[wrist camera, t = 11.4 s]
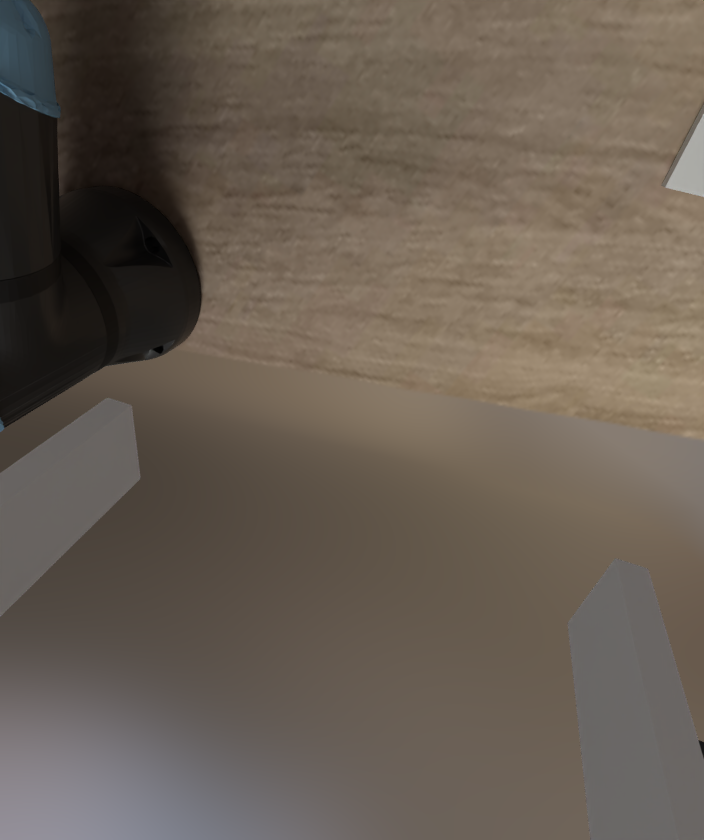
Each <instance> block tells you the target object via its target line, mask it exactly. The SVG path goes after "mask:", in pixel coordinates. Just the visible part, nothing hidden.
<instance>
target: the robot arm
mask: <svg viewBox="0 0 704 840" xmlns="http://www.w3.org/2000/svg"><path fill="white" fill-rule="evenodd" d="M57 118H60V106H59V104H58V103H57V102H56V94H55V83H54V72H53V61H52V50H51V40H50V35H49V32H48V29H47V26H46V24H45V22H44V20H43V18H42V16H41V14H40V13H39V11H38V10H37V8H36V7H35V6H34V5H33V3H32V2H31V1H30V0H0V432H1V431H2V430H3V429H4V428H5V427H7V426H8V425H10V424H11V423H13V422H15V421H16V420H18V419H20V418H21V417H23V416H25V415H26V414H28V413H29V412H31V411H33V410H34V409H36V408H38V407H39V406H41V405H43V404H44V403H46V402H48V401H49V400H51V399H52V398H54V397H55V396H57V395H59V394H61V393H62V392H64V391H65V390H67V389H69V388H70V387H72V386H74V385H75V384H77V383H78V382H80V381H82V380H83V379H85V378H87V377H88V376H90V375H91V374H93V373H95V372H96V371H98V370H100V369H102V368H103V367H105V366H109V365H116V364H122V363H129V362H136V361H143V360H149V359H153V358H157V357H159V356H162V355H164V354H166V353H167V352H169V351H171V350H172V349H174V348H175V347H177V346H178V345H180V344H181V343H182V342H184V341H185V340H186V339H187V338H188V336H189V335H190V334H191V332H192V331H193V329H194V327H195V325H196V322H197V319H198V316H199V310H200V286H199V280H198V276H197V272H196V269H195V266H194V263H193V260H192V258H191V255H190V253H189V251H188V249H187V247H186V245H185V244H184V242H183V240H182V239H181V237H180V235H179V234H178V233H177V231H176V230H175V228H174V227H173V226H172V225H171V223H170V222H169V221H168V220H167V219H166V218H165V217H164V216H163V215H162V214H161V213H160V212H159V211H158V210H157V209H156V208H155V207H153V206H152V205H151V204H150V203H148V202H147V201H145V200H144V199H142V198H140V197H139V196H137V195H135V194H133V193H131V192H129V191H126V190H123V189H120V188H116V187H110V186H97V187H90V188H84V189H78V190H74V191H71V192H68V193H66V194H64V195H62V196H60V197H59V175H58V147H57ZM139 479H140V470H139V463H138V454H137V445H136V437H135V429H134V421H133V413H132V405H129V404H126V403H123V402H120V401H117V400H113V399H110V398H106V399H105V400H103V401H102V402H100V403H99V404H98V405H96V406H95V407H94V408H92V409H90V410H89V411H88V412H86V413H85V414H83V415H82V416H81V417H79V418H78V419H76V420H75V421H73V422H72V423H71V424H69V425H68V426H66V427H65V428H64V429H62V430H61V431H59V432H58V433H56V434H55V435H54V436H52V437H51V438H50V439H48V440H47V441H45V442H44V443H42V444H41V445H39V446H38V447H37V448H35V449H34V450H32V451H31V452H30V453H28V454H27V455H25V456H24V457H22V458H21V459H20V460H18V461H17V462H15V463H14V464H13V465H11V466H10V467H8V468H7V469H5V470H4V471H3V472H1V473H0V616H1V615H2V614H3V613H4V612H5V611H6V610H7V609H8V608H9V607H10V606H11V605H12V604H13V603H15V601H16V600H18V599H19V598H20V597H21V596H22V595H23V594H24V593H25V592H26V591H27V590H28V589H29V588H30V587H31V586H32V585H33V584H34V583H35V582H36V581H37V580H38V579H39V578H40V577H41V576H42V575H43V574H44V573H45V572H46V571H47V570H48V569H49V568H50V567H51V566H52V565H53V564H54V563H55V562H56V561H57V560H58V559H59V558H60V557H61V556H62V555H63V554H64V553H65V552H66V551H67V550H68V549H69V548H70V547H71V546H72V545H73V544H74V543H75V542H76V541H77V540H79V538H80V537H82V536H83V535H84V534H85V533H86V531H88V530H89V529H90V527H92V526H93V525H94V524H95V523H96V522H97V521H98V520H99V519H100V518H101V517H102V516H103V515H104V514H105V513H106V512H107V511H108V510H109V509H110V508H111V507H112V506H113V505H114V504H115V503H116V502H117V501H118V500H119V499H120V498H121V497H122V496H123V495H124V494H125V493H126V492H127V491H128V490H129V489H130V488H131V487H132V486H133V485H134V484H135V483H136V482H137V481H138V480H139ZM568 630H569V640H570V650H571V659H572V668H573V678H574V688H575V696H576V707H577V716H578V726H579V735H580V744H581V755H582V764H583V773H584V783H585V792H586V802H587V812H588V821H589V831H590V840H704V742H702V741H699V740H698V737H697V734H696V731H695V727H694V724H693V720H692V717H691V714H690V710H689V707H688V703H687V700H686V697H685V693H684V690H683V686H682V683H681V679H680V676H679V673H678V669H677V666H676V662H675V659H674V655H673V652H672V649H671V645H670V642H669V638H668V635H667V632H666V628H665V625H664V621H663V618H662V614H661V611H660V608H659V604H658V601H657V597H656V594H655V591H654V587H653V584H652V580H651V577H650V574H649V570H648V568H644V567H641V566H638V565H635V564H632V563H629V562H626V561H622V560H619V559H616V558H615V559H614V561H613V562H612V563H611V565H610V566H609V567H608V569H607V570H606V571H605V573H604V574H603V576H602V577H601V578H600V580H599V581H598V582H597V584H596V585H595V587H594V588H593V589H592V591H591V592H590V593H589V595H588V596H587V597H586V599H585V600H584V602H583V603H582V604H581V606H580V607H579V608H578V610H577V611H576V612H575V614H574V615H573V617H572V618H571V619H570V621H569V622H568Z"/></svg>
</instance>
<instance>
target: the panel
mask: <svg viewBox="0 0 704 840" xmlns="http://www.w3.org/2000/svg"><path fill="white" fill-rule="evenodd" d="M662 186H663V187H666V188H670V189H674V190H678V191H682V192H686V193H690V194H694V195H698V196H702V197H704V104H703V106H702V108H701V110H700V112H699V114H698V116H697V118H696V120H695V121H694V123H693V125H692V127H691V129H690V131H689V133H688V135H687V137H686V139H685V141H684V143H683V145H682V147H681V149H680V151H679V152H678V154H677V156H676V158H675V160H674V162H673V164H672V166H671V168H670V170H669V172H668V174H667V176H666V178H665V180H664V182H663V183H662Z"/></svg>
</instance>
